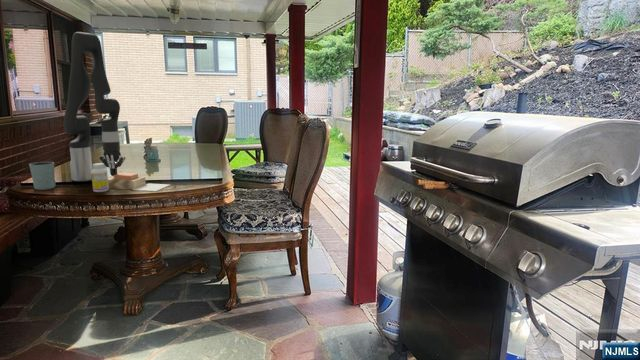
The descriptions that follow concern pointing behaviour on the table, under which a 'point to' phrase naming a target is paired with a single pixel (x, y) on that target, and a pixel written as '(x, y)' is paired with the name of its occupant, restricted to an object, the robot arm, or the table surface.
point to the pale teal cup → (43, 175)
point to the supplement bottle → (99, 178)
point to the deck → (125, 183)
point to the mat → (151, 187)
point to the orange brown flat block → (126, 176)
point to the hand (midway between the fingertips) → (114, 175)
